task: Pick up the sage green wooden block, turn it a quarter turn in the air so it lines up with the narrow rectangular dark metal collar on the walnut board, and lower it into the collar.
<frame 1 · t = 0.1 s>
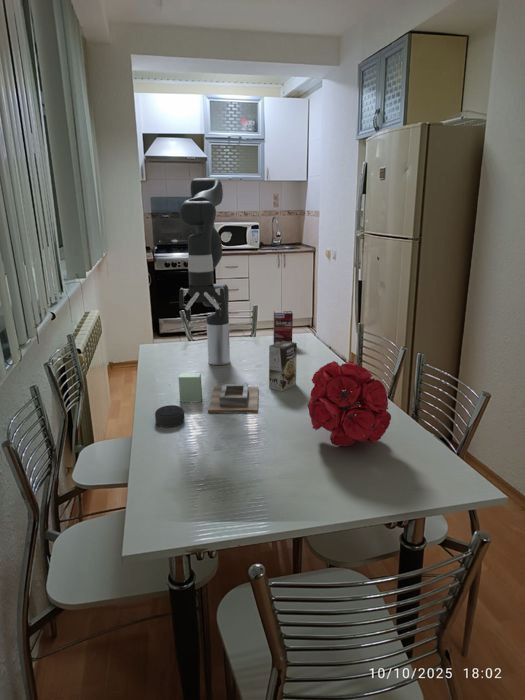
hand: (203, 320, 150), 29 cm above the table, tool pointing down, fingers open, 8 cm apart
bouquet: (343, 437, 136), on the table
smart speaker: (170, 422, 147), on the table
supplement box: (282, 345, 225), on the table
keyed holder: (234, 400, 162), on the table
coffee box: (282, 386, 175), on the table
keyed block: (191, 399, 163), on the table
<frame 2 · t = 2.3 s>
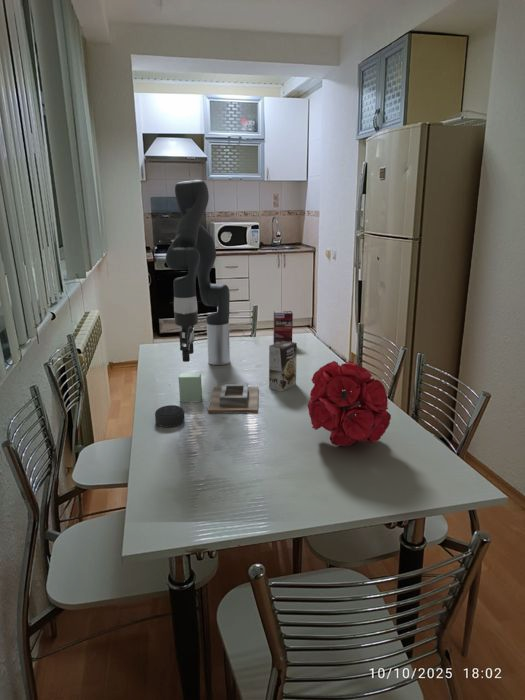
hand: (188, 357, 159), 15 cm above the table, tool pointing down, fingers open, 8 cm apart
nothing on the table moved.
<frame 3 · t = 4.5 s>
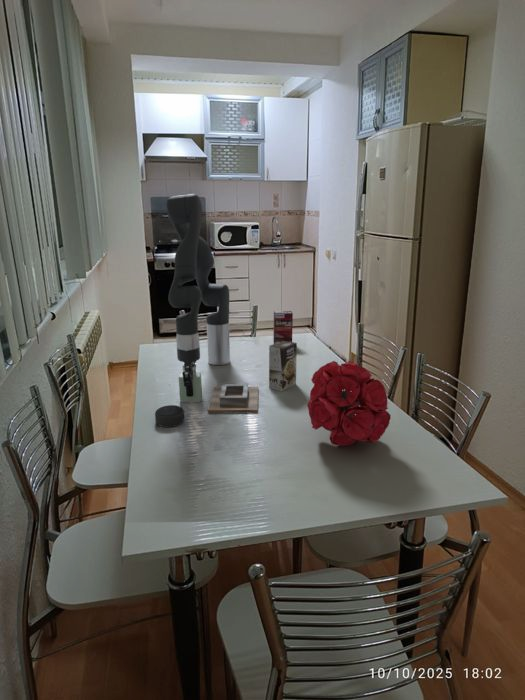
hand: (190, 393, 163), 2 cm above the table, tool pointing down, fingers closed on keyed block, 4 cm apart
keyed block: (191, 399, 163), on the table, touching gripper
everything else where it was.
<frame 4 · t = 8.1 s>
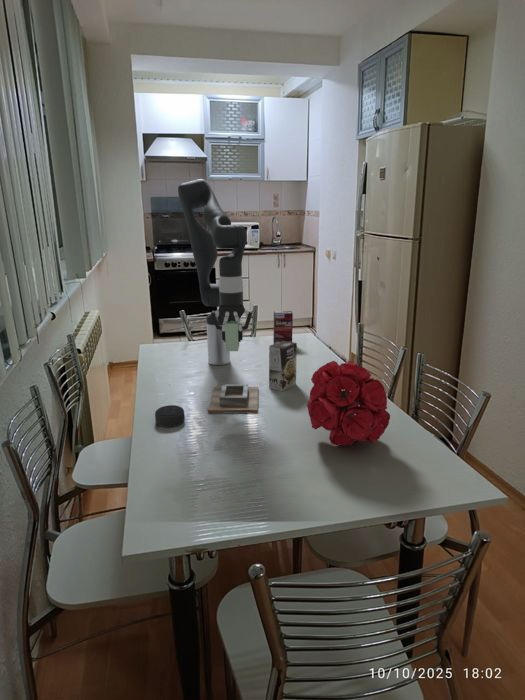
hand: (232, 341, 156), 21 cm above the table, tool pointing down, fingers closed on keyed block, 4 cm apart
keyed block: (232, 348, 157), point 19 cm above the table, touching gripper
everything else where it was.
when the fingers open (4 cm above the table, at t = 11.7 s): keyed block stays where it is, resting on keyed holder.
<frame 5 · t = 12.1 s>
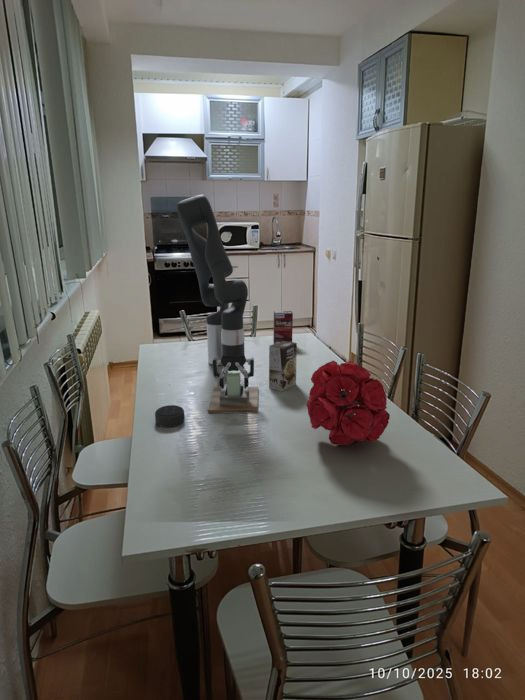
hand: (234, 387, 161), 5 cm above the table, tool pointing down, fingers open, 7 cm apart
keyed block: (234, 397, 162), point 1 cm above the table, touching keyed holder
everything else where it was.
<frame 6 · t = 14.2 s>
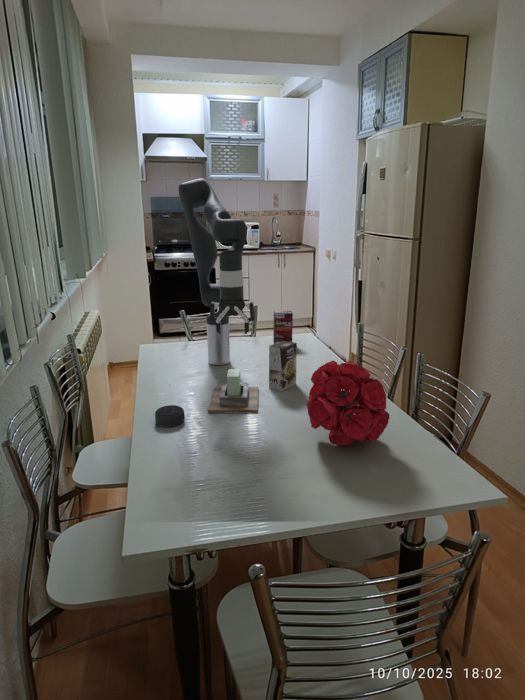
hand: (232, 333, 155), 24 cm above the table, tool pointing down, fingers open, 8 cm apart
nothing on the table moved.
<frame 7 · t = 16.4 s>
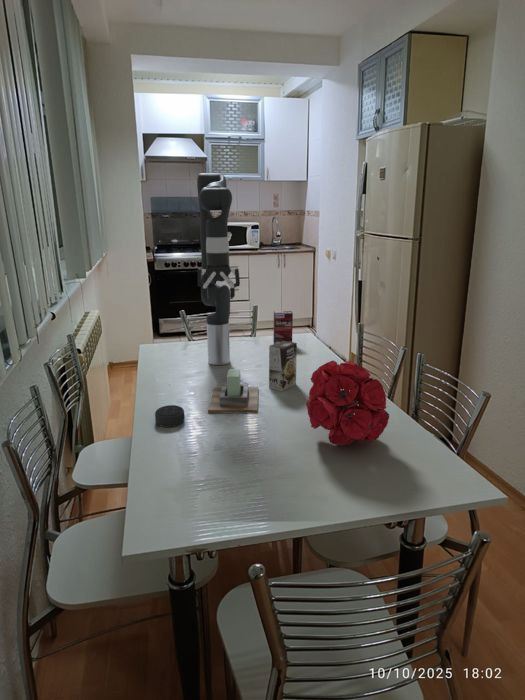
hand: (219, 298, 163), 33 cm above the table, tool pointing down, fingers open, 8 cm apart
nothing on the table moved.
at the end: keyed block 0.1 cm off-centre on the keyed holder, point 1.0 cm above the keyed holder's base; keyed block tilted 0°; the gripper is holding nothing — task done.
